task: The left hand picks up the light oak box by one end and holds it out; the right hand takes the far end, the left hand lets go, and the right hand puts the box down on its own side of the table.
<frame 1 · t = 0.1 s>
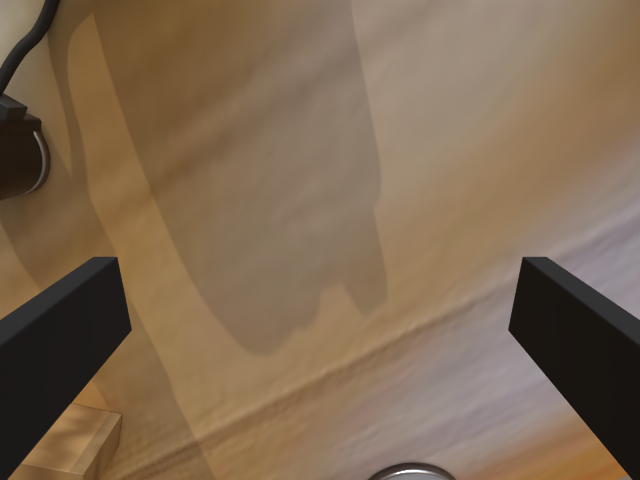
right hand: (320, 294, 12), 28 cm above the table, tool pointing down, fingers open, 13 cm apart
box: (32, 413, 50), on the table
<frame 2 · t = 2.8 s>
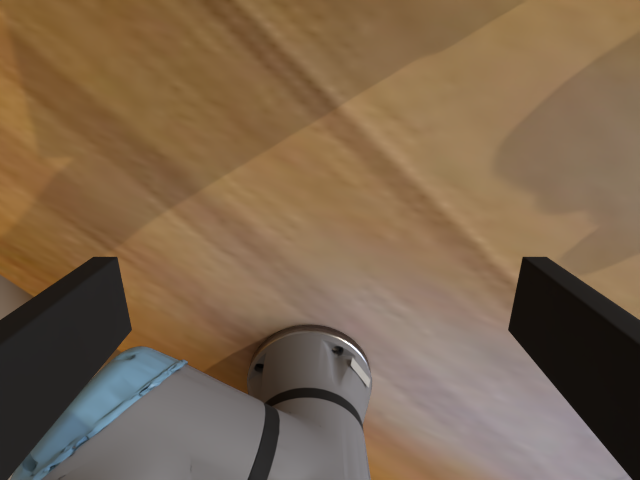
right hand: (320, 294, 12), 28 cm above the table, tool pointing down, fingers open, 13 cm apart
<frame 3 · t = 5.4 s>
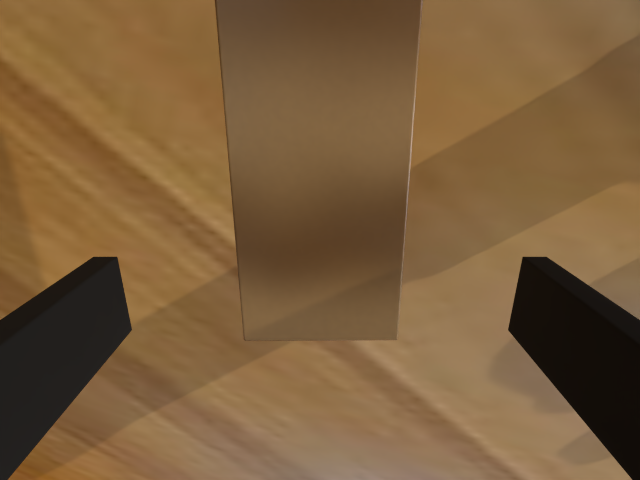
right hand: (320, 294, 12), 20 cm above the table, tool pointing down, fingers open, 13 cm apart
box: (319, 50, 19), point 9 cm above the table, touching left hand
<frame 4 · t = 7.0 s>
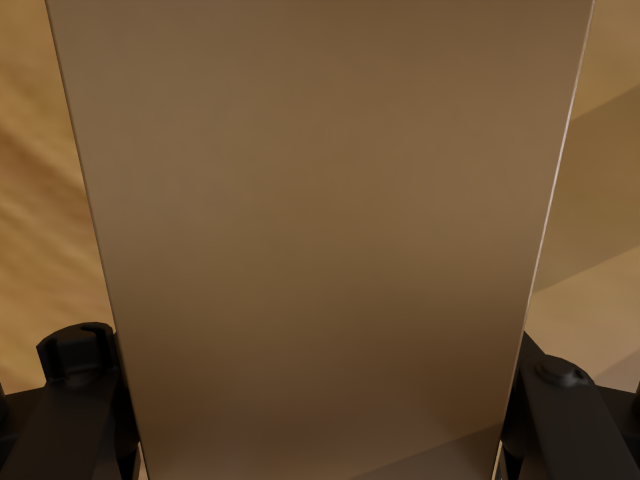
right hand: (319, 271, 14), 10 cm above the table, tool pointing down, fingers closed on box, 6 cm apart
box: (320, 19, 12), point 9 cm above the table, touching right hand, left hand
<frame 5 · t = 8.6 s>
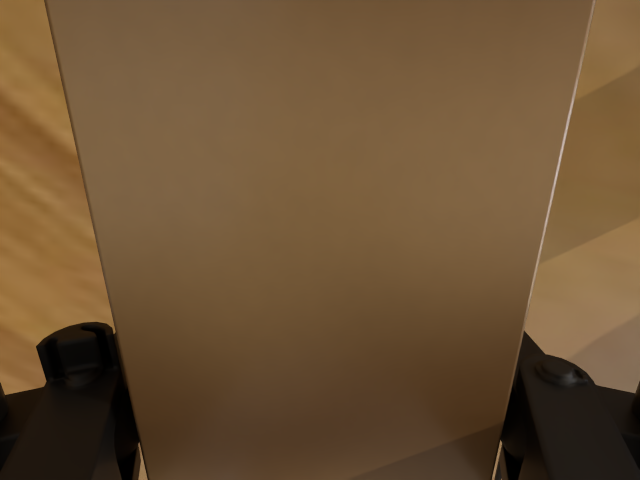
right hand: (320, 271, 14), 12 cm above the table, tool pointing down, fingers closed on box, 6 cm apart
box: (320, 19, 12), point 11 cm above the table, touching right hand
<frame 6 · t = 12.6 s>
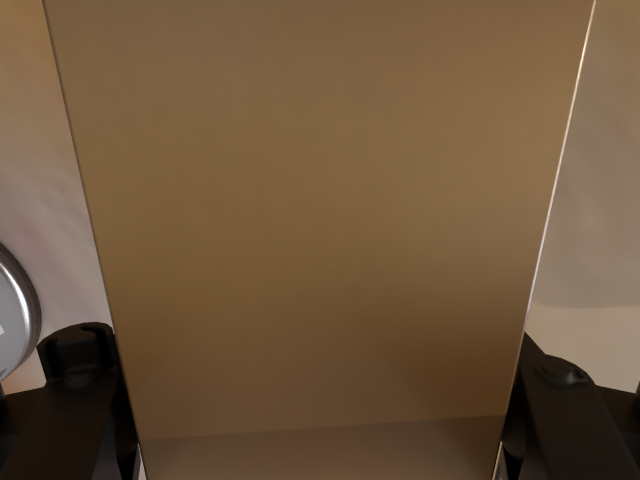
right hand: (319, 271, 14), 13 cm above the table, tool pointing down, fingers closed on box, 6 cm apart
box: (319, 18, 12), point 12 cm above the table, touching right hand
when the right hand's fingers open (2 cm above the table, at t = 18.6 s): box drops 2 cm, on the table.
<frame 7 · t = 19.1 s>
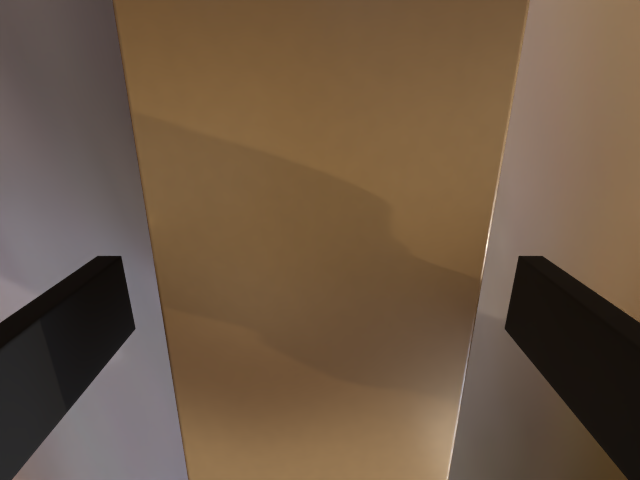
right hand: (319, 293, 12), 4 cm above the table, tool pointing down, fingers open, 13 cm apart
box: (320, 31, 13), on the table
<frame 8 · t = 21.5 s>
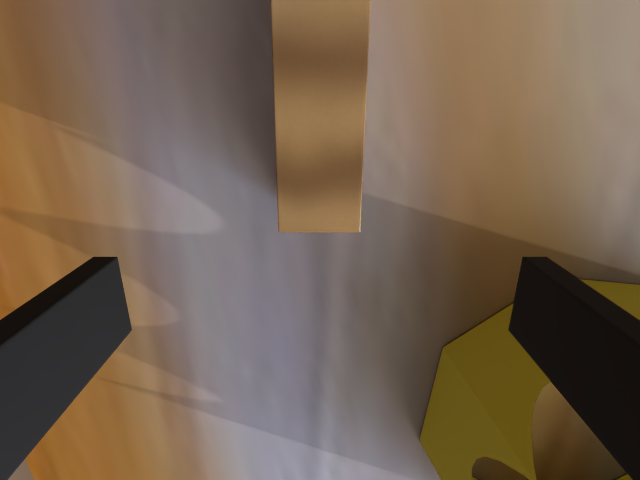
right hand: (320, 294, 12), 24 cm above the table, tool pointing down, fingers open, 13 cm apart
box: (320, 73, 32), on the table
crown: (566, 406, 45), on the table
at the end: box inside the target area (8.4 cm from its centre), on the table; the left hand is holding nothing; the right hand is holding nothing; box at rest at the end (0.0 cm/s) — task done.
